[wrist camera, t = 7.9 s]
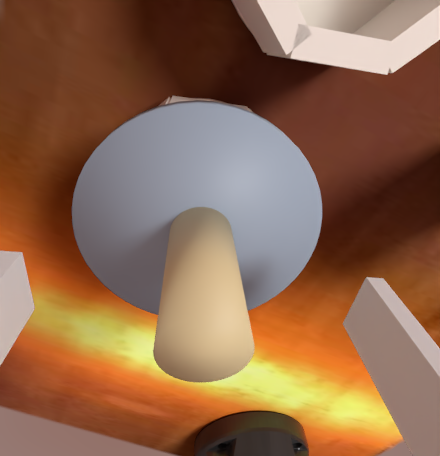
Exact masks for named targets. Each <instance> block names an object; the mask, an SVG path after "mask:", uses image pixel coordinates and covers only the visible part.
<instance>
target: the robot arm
mask: <svg viewBox="0 0 440 456" xmlns="http://www.w3.org/2000/svg"><path fill="white" fill-rule="evenodd" d="M34 309H35V306H34V302H33V298H32V293H31V289H30V284H29V280H28V276H27V271H26V267H25V263H24V258H23V254H22V252H10V251H0V365H1V364H2V362H3V360H4V359H5V357H6V355H7V354H8V352H9V351H10V349H11V347H12V346H13V344H14V342H15V341H16V339H17V337H18V336H19V334H20V332H21V331H22V329H23V328H24V326H25V324H26V323H27V321H28V319H29V318H30V316H31V314H32V313H33V311H34ZM343 325H344V327H345V329H346V331H347V333H348V335H349V337H350V338H351V340H352V342H353V344H354V346H355V348H356V350H357V352H358V354H359V355H360V357H361V359H362V361H363V363H364V365H365V367H366V369H367V371H368V372H369V374H370V376H371V378H372V380H373V382H374V384H375V386H376V388H377V390H378V391H379V393H380V395H381V397H382V399H383V401H384V403H385V405H386V407H387V408H388V410H389V412H390V414H391V416H392V418H393V420H394V422H395V424H396V425H397V427H398V429H399V431H400V433H401V435H402V437H403V439H404V441H405V443H406V444H407V446H408V448H409V450H410V452H411V454H412V456H440V348H439V347H438V346H437V345H436V343H435V342H434V341H433V340H432V338H431V337H430V336H429V335H428V333H427V332H426V331H425V330H424V328H423V327H422V326H421V325H420V323H419V322H418V321H417V320H416V318H415V317H414V316H413V315H412V314H411V312H410V311H409V310H408V309H407V307H406V306H405V305H404V304H403V302H402V301H401V300H400V299H399V297H398V296H397V295H396V294H395V292H394V291H393V290H392V289H391V287H390V286H389V285H388V284H387V282H386V281H385V280H384V279H383V278H371V277H366V278H365V280H364V282H363V284H362V286H361V288H360V290H359V292H358V294H357V296H356V298H355V300H354V302H353V304H352V306H351V308H350V310H349V312H348V314H347V316H346V318H345V320H344V322H343ZM194 456H309V448H308V443H307V440H306V436H305V433H304V429H303V427H302V425H301V424H300V423H299V422H298V421H296V420H295V419H293V418H291V417H289V416H286V415H283V414H279V413H273V412H247V413H241V414H236V415H232V416H228V417H225V418H222V419H220V420H218V421H216V422H214V423H212V424H210V425H208V426H207V427H206V428H204V429H203V430H202V431H201V432H200V433H199V434H198V436H197V437H196V440H195V444H194Z"/></svg>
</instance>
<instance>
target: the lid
mask: <svg viewBox="0 0 440 456" xmlns="http://www.w3.org/2000/svg"><path fill="white" fill-rule="evenodd" d="M321 222H322V201H321V194H320V189H319V186H318V183H317V180H316V177H315V174H314V172H313V170H312V168H311V166H310V164H309V162H308V161H307V159H306V158H305V157H304V155H303V154H302V152H301V151H300V150H299V148H298V147H297V146H296V145H295V144H294V143H293V142H292V141H291V140H290V139H289V138H288V137H287V136H286V135H285V134H284V133H283V132H282V131H281V130H280V129H278V128H277V127H276V126H274V125H273V124H272V123H270V122H269V121H268V120H266V119H264V118H262V117H260V116H258V115H257V114H255V113H253V112H251V111H248V110H245V109H243V108H240V107H237V106H234V105H230V104H225V103H221V102H215V101H201V100H194V101H179V102H174V103H170V104H165V105H160V106H158V107H155V108H152V109H149V110H147V111H144V112H142V113H140V114H138V115H136V116H134V117H133V118H131V119H129V120H127V121H126V122H124V123H123V124H122V125H120V126H119V127H118V128H116V129H115V130H114V131H113V132H112V133H111V134H110V135H109V136H108V137H107V138H106V139H105V140H104V141H103V142H102V143H101V144H100V145H99V146H98V147H97V148H96V149H95V151H94V152H93V153H92V155H91V156H90V158H89V159H88V161H87V162H86V163H85V165H84V167H83V169H82V171H81V174H80V176H79V178H78V181H77V184H76V187H75V191H74V195H73V203H72V224H73V229H74V235H75V239H76V242H77V244H78V247H79V250H80V252H81V254H82V256H83V258H84V260H85V262H86V264H87V265H88V266H89V268H90V269H91V270H92V272H93V273H94V275H95V276H96V277H97V278H98V279H99V280H100V281H101V282H102V283H103V284H104V285H105V286H106V287H107V288H108V289H109V290H111V291H112V292H113V293H114V294H116V295H117V296H119V297H120V298H122V299H123V300H125V301H126V302H128V303H130V304H132V305H134V306H136V307H138V308H140V309H143V310H145V311H148V312H150V313H154V314H157V315H158V321H157V328H156V335H155V343H154V350H153V353H154V358H155V361H156V363H157V364H158V366H159V367H160V368H161V369H162V370H163V371H164V372H166V373H167V374H169V375H171V376H173V377H175V378H178V379H181V380H185V381H190V382H212V381H217V380H221V379H224V378H227V377H230V376H232V375H234V374H236V373H237V372H239V371H240V370H242V369H243V368H244V367H245V366H246V365H247V364H248V363H249V362H250V360H251V358H252V356H253V354H254V341H253V336H252V331H251V326H250V321H249V316H248V310H250V309H253V308H255V307H257V306H259V305H261V304H263V303H265V302H267V301H268V300H270V299H271V298H273V297H275V296H276V295H277V294H279V293H280V292H281V291H283V290H284V289H285V288H286V287H287V286H288V285H289V284H290V283H291V282H292V281H293V280H294V279H295V278H296V277H297V276H298V275H299V274H300V272H301V271H302V270H303V269H304V267H305V266H306V264H307V262H308V261H309V259H310V257H311V255H312V253H313V251H314V249H315V247H316V244H317V241H318V237H319V234H320V229H321Z"/></svg>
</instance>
